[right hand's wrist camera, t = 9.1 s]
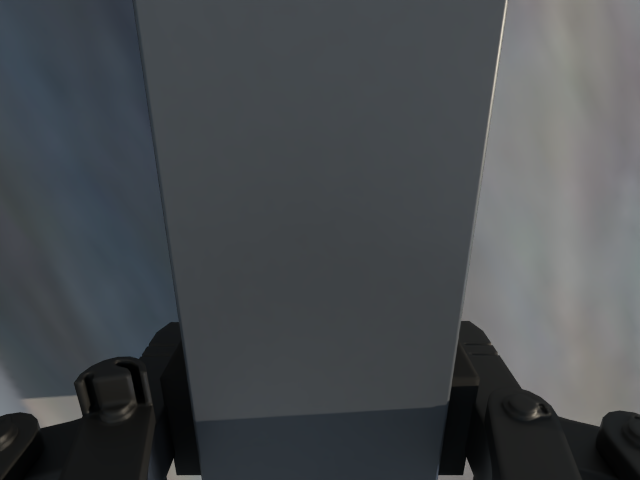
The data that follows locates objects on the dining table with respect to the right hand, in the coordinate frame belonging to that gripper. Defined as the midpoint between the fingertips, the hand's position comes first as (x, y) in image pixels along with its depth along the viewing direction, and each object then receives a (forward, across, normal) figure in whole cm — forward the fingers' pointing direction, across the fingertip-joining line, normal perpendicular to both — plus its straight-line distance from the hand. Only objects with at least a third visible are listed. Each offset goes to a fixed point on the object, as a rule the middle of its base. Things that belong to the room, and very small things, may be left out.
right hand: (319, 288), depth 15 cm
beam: (+1, 0, -23) cm, 23 cm away
